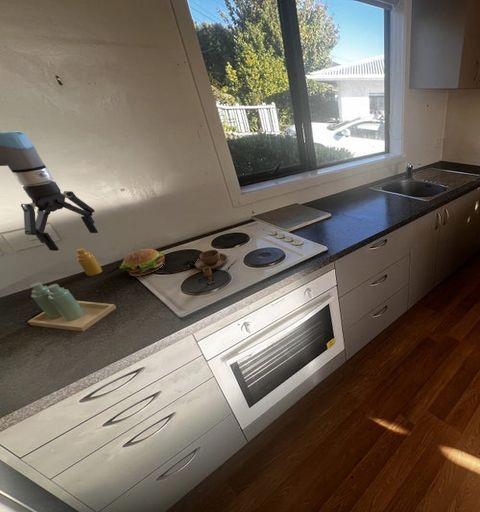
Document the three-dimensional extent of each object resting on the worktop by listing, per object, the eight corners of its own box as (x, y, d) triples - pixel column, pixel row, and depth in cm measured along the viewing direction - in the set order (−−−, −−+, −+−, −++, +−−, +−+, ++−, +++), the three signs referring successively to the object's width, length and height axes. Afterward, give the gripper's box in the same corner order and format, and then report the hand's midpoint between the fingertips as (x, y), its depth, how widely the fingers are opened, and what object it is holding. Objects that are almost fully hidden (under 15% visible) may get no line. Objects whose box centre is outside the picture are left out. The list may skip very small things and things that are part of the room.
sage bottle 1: (44, 318, 91) (20, 288, 85) (60, 309, 95) (38, 279, 89) (57, 320, 91) (33, 289, 85) (72, 310, 95) (50, 280, 89)
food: (141, 260, 122) (132, 243, 118) (174, 260, 122) (166, 243, 118) (115, 279, 111) (104, 261, 106) (151, 278, 110) (142, 261, 106)
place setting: (240, 257, 124) (237, 245, 121) (214, 284, 107) (209, 271, 104) (201, 256, 125) (197, 244, 122) (169, 283, 108) (163, 270, 105)
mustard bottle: (86, 279, 111) (68, 252, 105) (98, 272, 115) (81, 246, 109) (96, 280, 110) (79, 253, 104) (108, 273, 114) (91, 247, 108)
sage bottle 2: (61, 320, 91) (37, 290, 84) (76, 310, 95) (54, 280, 88) (73, 321, 90) (50, 291, 84) (88, 311, 94) (67, 282, 88)
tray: (31, 326, 89) (27, 321, 88) (67, 303, 98) (64, 299, 97) (84, 332, 87) (80, 327, 86) (116, 308, 96) (114, 304, 95)
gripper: (-2, 196, 82) (44, 259, 93) (87, 173, 104) (116, 226, 115) (-23, 195, 83) (25, 257, 94) (69, 172, 105) (100, 225, 116)
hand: (75, 240), depth 104 cm, fingers open, 13 cm apart
